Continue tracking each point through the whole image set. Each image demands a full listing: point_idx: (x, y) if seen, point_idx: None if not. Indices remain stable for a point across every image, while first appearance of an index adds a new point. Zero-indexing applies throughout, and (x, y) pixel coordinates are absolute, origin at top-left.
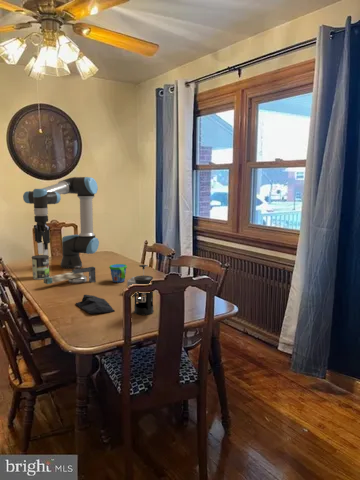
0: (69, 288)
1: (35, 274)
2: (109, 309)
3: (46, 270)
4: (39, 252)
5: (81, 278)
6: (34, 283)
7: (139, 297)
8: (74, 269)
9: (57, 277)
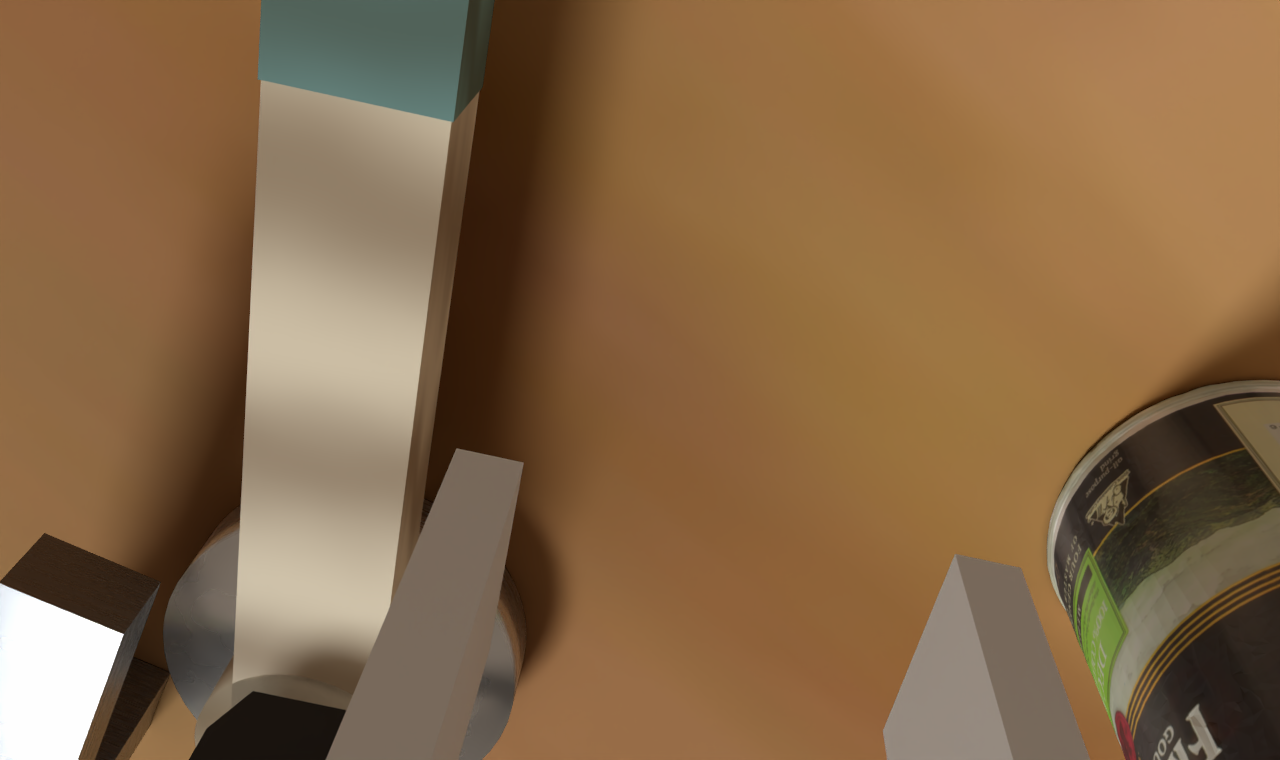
0: (36, 177)
1: None
2: None
3: (1102, 641)
4: (951, 639)
5: (202, 637)
6: (1029, 118)
7: None
8: (87, 659)
9: (258, 233)
